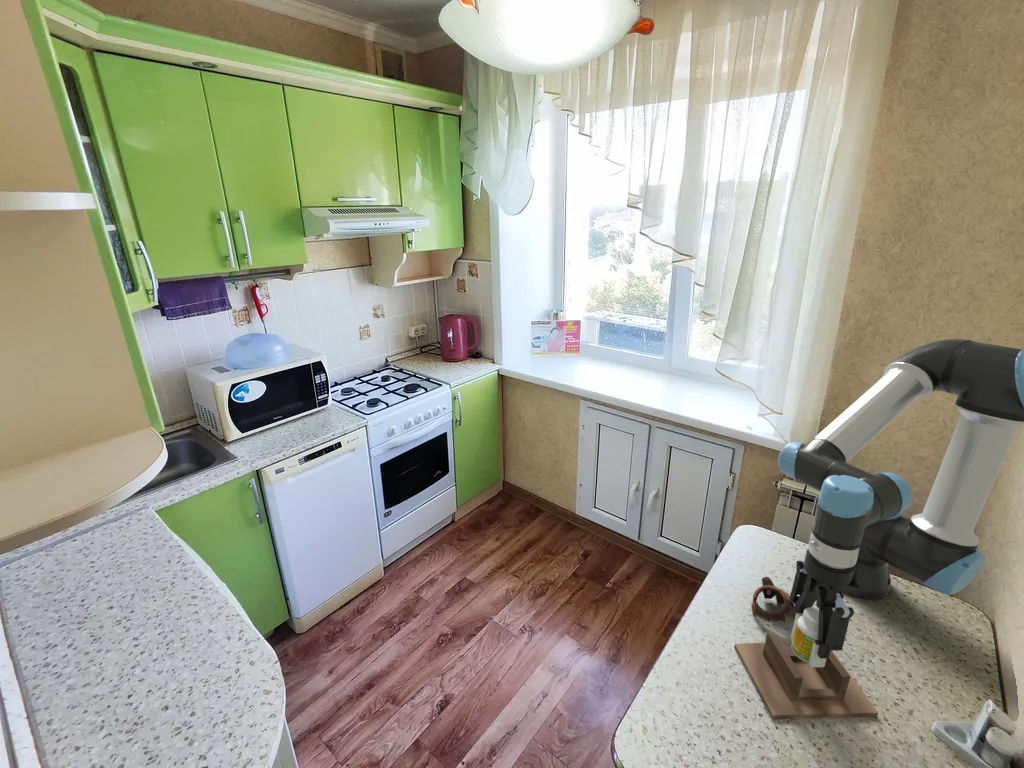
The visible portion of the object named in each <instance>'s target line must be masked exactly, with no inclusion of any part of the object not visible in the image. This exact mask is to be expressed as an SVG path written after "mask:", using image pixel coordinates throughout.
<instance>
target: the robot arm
mask: <svg viewBox="0 0 1024 768" xmlns="http://www.w3.org/2000/svg"><path fill="white" fill-rule="evenodd" d="M937 391H938V392H944V393H948V394H951V395H954V396H957V397H956V399H955V402H954V407H955V408H956V409H957V411H958V412H959V414H960V416H959V418H958V421H957V424H956V427H955V428H954V431H953V434H952V436H951V439H950V442H949V444H948V446H947V450H946V451H945V454H944V457H943V459H942V462H941V465H940V468H939V470H938V472H937V474H936V477H935V479H934V482H933V485H932V488H931V489H930V493H929V496H928V498H927V500H926V503H925V505H924V508H923V510H922V512H921V513H917V514H913V515H912V516H910V518H908V517H906V516H904V514H905V512H904V511H905V510H907V509H908V508H909V507H910V506H911V504H912V502H913V497H914V495H913V491H912V488H911V486H910V485H909V482H908V481H907V480H905V478H903V477H901V476H900V475H898V474H896V473H893V472H890V471H889V472H876V473H871V472H869V471H866V470H865V469H862V468H860V467H857V466H855V465H853V464H850V463H848V462H849V461H850V460H851V459H852V458H853V457H855V456H856V455H857V454H858V453H859V452H860V451H861V450H863V448H865V446H867V445H868V444H869V443H870V442H871V441H872V440H873V439H875V437H876V436H878V435H879V434H880V433H882V431H883V430H884V429H885V428H887V427H888V426H889V425H890V424H891V423H892V422H893V421H894V420H896V419H897V418H898V416H900V414H902V413H903V412H904V411H905V410H906V409H907V408H908V407H909V406H911V405H912V404H913V403H914V402H915V401H916V400H917V399H923V398H924V399H925V398H927V397H928V396H930V395H931V394H932V393H933V392H937ZM1021 427H1024V348H1017V347H1011V346H1006V345H1005V346H1004V345H1000V344H999V345H997V344H991V343H985V342H979V341H975V340H974V341H973V340H971V339H965V338H947V339H940V340H935V341H932V342H929V343H925V344H923V345H919V346H917V347H914V348H913V349H911V350H908V351H906V352H905V353H903V354H901V355H900V356H897V357H896V358H895V359H893V360H892V361H891V362H890V363H889V364H888V365H887V366H886V367H885V368H884V369H883V376H882V377H881V378H880V379H878V381H876V382H875V383H874V384H873V385H872V386H871V387H870V388H868V389H867V390H866V391H865V392H864V393H863V394H862V395H861V396H859V397H858V398H857V399H856V400H855V401H854V402H853V403H852V404H850V405H849V406H848V407H847V408H846V409H845V410H844V411H843V412H842V413H840V414H839V415H838V416H837V417H836V418H835V419H833V420H832V421H831V422H830V423H829V424H828V425H827V426H826V427H825V428H823V429H822V431H820V432H819V433H818V434H817V435H815V436H814V437H813V438H812V439H810V440H809V442H808V443H806V444H805V443H804V442H798V441H792V442H789V443H787V444H785V446H783V448H782V449H781V450H780V451H779V454H778V458H777V465H778V469H779V470H780V471H781V472H782V473H783V474H784V475H786V476H787V477H790V478H791V479H793V480H794V481H795V482H800V483H801V484H803V485H806V486H808V487H810V488H811V489H813V490H816V491H818V492H819V493H818V496H817V503H816V510H815V514H814V519H813V523H812V528H811V533H810V536H809V541H808V545H807V549H806V552H805V556H804V560H797V561H796V571H795V575H794V579H793V582H792V583H793V584H792V587H791V592H790V594H789V596H790V601H791V602H794V609H795V615H793V624H792V625H793V626H792V629H791V634H790V639H791V642H792V641H793V636H794V632H795V628H796V624H797V620H798V618H799V617H800V616H802V615H803V613H804V610H805V609H806V608H809V607H811V608H813V606H814V604H816V605H815V606H816V607H817V609H818V610H819V626H818V638H814V642H813V646H812V650H811V654H810V658H809V662H808V665H809V666H810V667H824V666H825V663H826V659H827V658H829V655H830V651H833V652H834V651H835V652H836V651H843V647H844V644H845V639H846V635H847V632H848V627H849V625H850V623H849V622H850V620H851V618H852V617H853V616H854V614H855V610H854V609H853V608H852V606H847V605H846V602H845V601H844V598H845V595H844V593H845V594H847V595H850V596H853V597H856V598H860V599H864V600H880V599H883V598H885V597H887V596H888V595H889V594H890V593H889V592H890V589H891V586H892V581H891V575H890V573H891V572H890V568H889V565H890V566H892V567H893V568H895V569H897V570H899V572H900V571H901V572H902V573H904V574H905V575H908V577H909V576H910V577H911V578H913V579H914V580H916V581H917V582H920V583H921V584H922V585H923V586H925V587H929V588H931V589H933V590H934V591H937V592H939V593H940V594H942V595H949V596H950V595H954V594H957V593H959V592H960V591H961V590H963V589H964V588H965V587H967V586H968V585H969V584H970V583H971V582H972V581H973V580H974V579H975V578H976V577H977V575H978V574H979V573H980V571H981V570H982V569H983V567H984V564H985V563H986V555H985V554H984V553H983V552H981V551H977V548H978V547H979V544H980V540H979V538H978V536H977V535H976V534H975V532H974V530H975V528H976V525H977V522H978V520H979V518H980V516H981V513H982V511H983V509H984V507H985V504H986V501H987V500H988V498H989V495H990V493H991V491H992V488H993V486H994V483H995V482H996V481H995V480H996V479H997V476H998V474H999V472H1000V469H1001V467H1002V465H1003V463H1004V460H1005V458H1006V455H1007V453H1008V452H1009V449H1010V446H1011V444H1012V442H1013V439H1014V438H1015V434H1017V433H1016V432H1017V430H1018V429H1019V428H1021Z"/></svg>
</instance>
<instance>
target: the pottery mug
mask: <svg viewBox="0 0 1024 768" xmlns="http://www.w3.org/2000/svg"><path fill="white" fill-rule="evenodd" d="M761 583H762V586H760V587H758V588H757V589H756V590H755V591H754V593H753V597H752V603H751V612H752V614H753V615H755V616H756V617H758V618H760V619H761V620H763V621H766V622H772V623H777V622H782V623H784V624H785V623H787V618H786V614H787V615H793V616H794V615H795V609H794V606H795V604H794V602H791V601H790V594H789V593H788V592H787V591H785V590H784V589H781V588H778V587H777V586H775V584H774V583H773V581H772V580H771V578H770V577H769V576H764V577H762V578H761ZM761 593H762V594H763V595H762V596H763V598H764V599H767V600H771V599H773V598H774V597H775V600H776V604H778V605H782V607H781V608H780V609H779V610H776V611H767V610H766V609H764V608H762V607H761V606H760V605H759V603H758V602H757V601H758V596H759V594H761Z"/></svg>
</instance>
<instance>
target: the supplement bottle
mask: <svg viewBox="0 0 1024 768" xmlns="http://www.w3.org/2000/svg"><path fill="white" fill-rule="evenodd" d="M818 626H819V608H815V607H812V608H811V607H809V608H806V609H805V610H804V613H803V615H802V616H800V617H799V618H798V620H797V624H796V628H795V632H794V636H793V641H792V640H791V642H792V645H791V647H792V651H793V653H794V654H795V655H796V656H797V657H798V658H799V659H801V660H802V661H804V662H807V663H808V662H809V658H810V654H811V650H812V646H813V642H814V638H818Z"/></svg>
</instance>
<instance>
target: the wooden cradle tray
mask: <svg viewBox="0 0 1024 768" xmlns="http://www.w3.org/2000/svg"><path fill="white" fill-rule="evenodd" d="M791 645H792V641H789V642H787V641H786V642H785V641H784V642H782V641H780V639H779V638H778V635H776V632H773V631H772V632H766V636H765V640H764V642H749V643H745V642H744V643H734V647H733V648H734V649H735V651H736V654H737V655H738V657H739V659H740V660H741V664H742V665H743V666H744V669H745V670H746V672H747V674H748V676H749V678H750V679H751V681H752V684H753V685H754V687H755V690H756V691H757V693H758V695H759V696H760V698H761V699H760V700H761V701H762V702H763V704H764V706H765V709H766V710H767V713H768V714H769V716H770V718H771V719H772V720H789V719H792V720H793V719H822V718H823V719H826V718H828V719H829V718H830V719H831V718H834V719H835V718H866V717H869V718H870V717H878V716H879V711H878V710H877V708H876V707H875V706H874V704H872V702H871V700H870V699H869V698H868V697H867V695H866V694H865V693H864V691H863V690H862V688H861V687H860V686H859V685H858V683H857V682H856V681H855V679H854V678H853V676H852V675H851V674H850V673H849V671H848V670H847V669H846V667H845V666H844V664H843V663H842V662H841V660H840V659H839V657H837V655H836V654H835V652H834V651H830V655H829V658H827V659H826V663H825V666H824V667H810V666H809V665H808V663H807V662H804V661H802V660H801V659H799V658H798V657H797V656H796V655H795V654H794V653H793V651H792V647H791Z"/></svg>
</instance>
